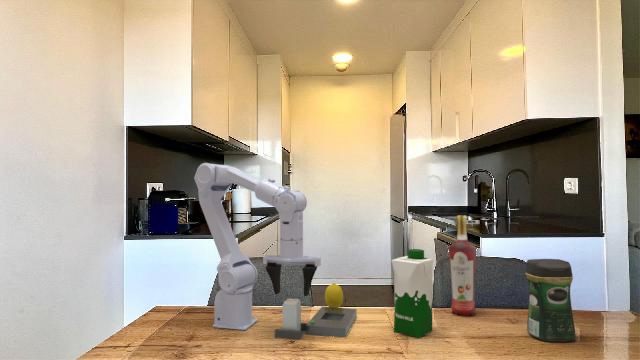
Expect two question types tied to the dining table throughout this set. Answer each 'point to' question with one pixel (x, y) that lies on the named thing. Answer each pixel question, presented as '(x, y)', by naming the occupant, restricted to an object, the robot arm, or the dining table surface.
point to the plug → (291, 315)
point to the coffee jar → (550, 300)
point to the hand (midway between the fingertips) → (291, 294)
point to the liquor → (462, 271)
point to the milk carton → (413, 294)
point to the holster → (291, 333)
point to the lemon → (333, 296)
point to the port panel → (331, 322)
